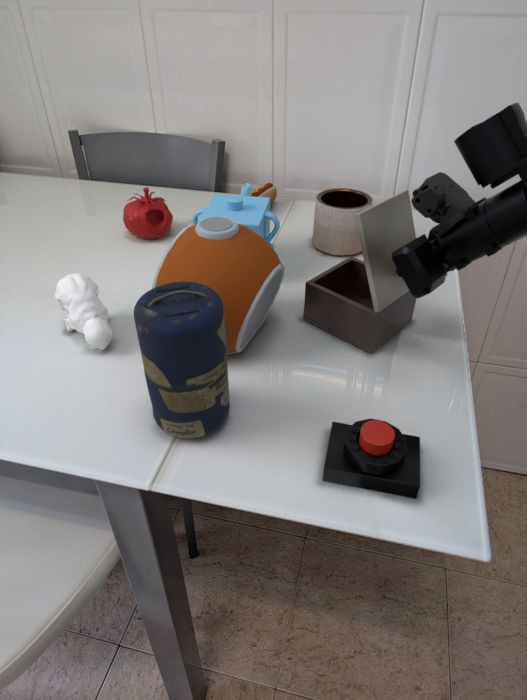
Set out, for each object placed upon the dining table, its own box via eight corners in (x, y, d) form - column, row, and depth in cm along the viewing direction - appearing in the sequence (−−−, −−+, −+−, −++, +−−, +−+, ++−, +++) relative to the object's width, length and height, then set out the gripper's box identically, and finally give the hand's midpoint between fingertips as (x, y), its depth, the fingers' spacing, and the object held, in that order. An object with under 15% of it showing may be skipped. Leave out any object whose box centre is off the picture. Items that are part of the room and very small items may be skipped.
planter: (364, 234, 103) (371, 188, 97) (369, 258, 94) (376, 210, 88) (312, 231, 104) (315, 186, 98) (311, 256, 95) (315, 208, 89)
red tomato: (116, 239, 101) (107, 194, 95) (142, 220, 108) (136, 177, 102) (159, 247, 98) (153, 201, 92) (183, 227, 105) (178, 183, 100)
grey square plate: (354, 214, 62) (359, 214, 62) (403, 190, 69) (408, 189, 68) (374, 312, 67) (379, 312, 67) (418, 281, 74) (423, 281, 73)
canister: (230, 443, 58) (223, 317, 47) (149, 446, 58) (122, 319, 47) (230, 388, 66) (224, 267, 55) (158, 390, 65) (137, 269, 54)
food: (250, 224, 106) (250, 202, 103) (229, 219, 108) (228, 197, 105) (281, 203, 116) (281, 182, 113) (260, 198, 118) (260, 177, 115)
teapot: (274, 285, 86) (275, 215, 78) (187, 278, 88) (180, 209, 80) (286, 240, 100) (288, 177, 92) (211, 235, 102) (207, 172, 94)
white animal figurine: (89, 262, 75) (119, 305, 67) (99, 307, 80) (128, 351, 73) (46, 274, 72) (73, 320, 65) (59, 320, 78) (85, 366, 70)
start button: (392, 434, 55) (395, 423, 54) (391, 459, 52) (394, 447, 51) (360, 428, 55) (362, 417, 54) (357, 452, 53) (359, 441, 51)
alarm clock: (201, 288, 86) (193, 189, 75) (296, 310, 80) (302, 207, 70) (138, 351, 72) (116, 241, 61) (247, 383, 66) (245, 268, 56)
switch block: (416, 449, 58) (423, 425, 55) (416, 499, 52) (424, 475, 50) (330, 434, 59) (333, 410, 57) (322, 480, 54) (325, 456, 52)
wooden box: (303, 319, 78) (305, 282, 74) (346, 291, 85) (351, 256, 81) (369, 354, 72) (376, 315, 67) (411, 321, 78) (420, 283, 74)
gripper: (501, 140, 61) (406, 203, 74) (423, 178, 50) (328, 243, 63) (544, 220, 61) (442, 268, 74) (476, 273, 51) (371, 319, 64)
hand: (398, 272), depth 69 cm, fingers closed, pressing on grey square plate
